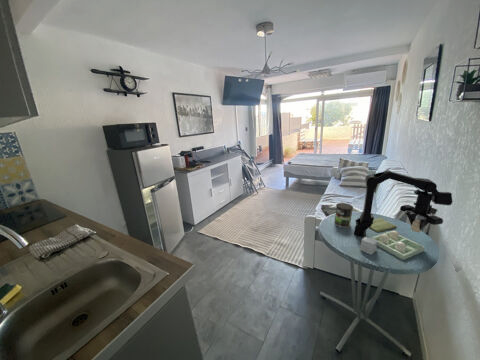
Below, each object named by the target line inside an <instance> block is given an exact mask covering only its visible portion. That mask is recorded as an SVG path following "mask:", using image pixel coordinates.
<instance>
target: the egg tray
mask: <svg viewBox="0 0 480 360" xmlns="http://www.w3.org/2000/svg"><path fill="white" fill-rule="evenodd" d="M391 231H392V230H388V231H387V232H386V231H385V232H383V233H382V234H386V235H388V236H389V234H390V232H391ZM382 234H378V235H375V236H372V237H371V238H373V239H375V240H378V243H377V247H379V248H380V249H382V250H385V251H386V252H388V253H389V254H391V255H394V256H395V257H396V258H398V259H400V260H403V261H405V260H407V259H409V258H412V257H414V256H416V255H418V254H421V253H423V252H424V251H425V249H426V247H425V246H424V245H422V244H419V242H418V243H417V242H415V241H413V240H411V239H408V238H407V237H404V236H402V235H400V234H399V237H398V241H397V242H403V243H404V244H405V245H406V249H405V253H404V254H402V253H400V252H398V251H396V250H395V245H396V243H397V242H396V241H394V240H392V239H390V238H389V243H388V245H385V244H383V243H381V242H379V240H380V236H381V235H382Z"/></svg>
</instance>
